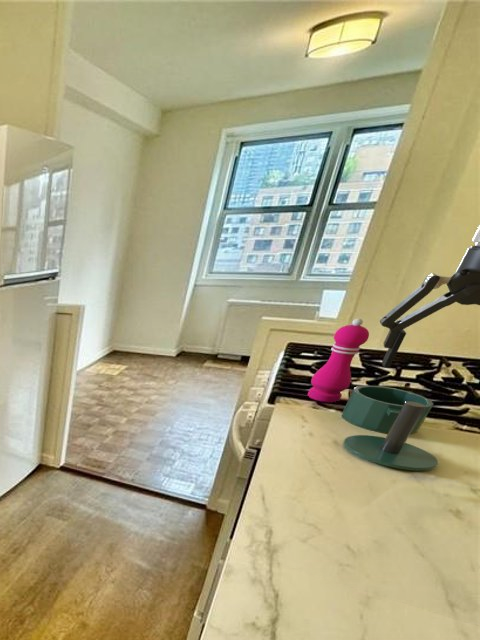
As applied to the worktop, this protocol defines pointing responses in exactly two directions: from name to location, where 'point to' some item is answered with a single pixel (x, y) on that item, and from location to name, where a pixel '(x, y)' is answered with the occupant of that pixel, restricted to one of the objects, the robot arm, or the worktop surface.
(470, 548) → the worktop surface
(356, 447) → the teal disc with rod
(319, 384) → the pepper mill
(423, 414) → the pot
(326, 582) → the worktop surface
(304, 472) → the worktop surface
